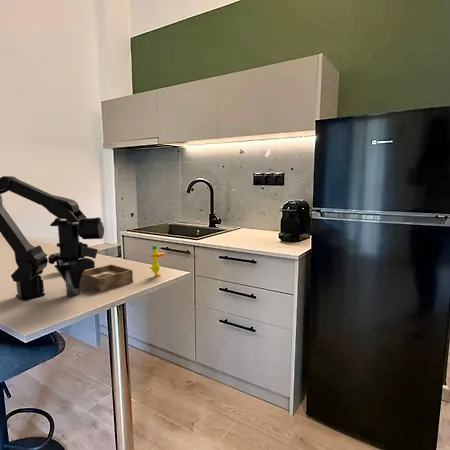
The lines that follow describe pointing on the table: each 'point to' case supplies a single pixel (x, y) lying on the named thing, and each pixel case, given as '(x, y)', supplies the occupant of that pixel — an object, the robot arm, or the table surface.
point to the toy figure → (155, 255)
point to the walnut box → (106, 277)
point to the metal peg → (71, 287)
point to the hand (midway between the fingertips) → (72, 287)
